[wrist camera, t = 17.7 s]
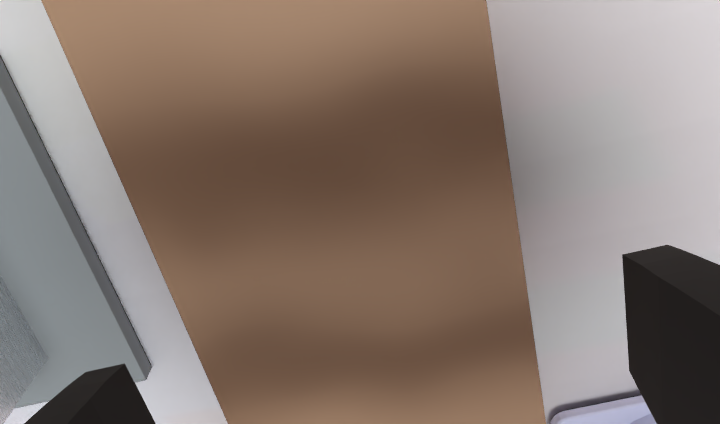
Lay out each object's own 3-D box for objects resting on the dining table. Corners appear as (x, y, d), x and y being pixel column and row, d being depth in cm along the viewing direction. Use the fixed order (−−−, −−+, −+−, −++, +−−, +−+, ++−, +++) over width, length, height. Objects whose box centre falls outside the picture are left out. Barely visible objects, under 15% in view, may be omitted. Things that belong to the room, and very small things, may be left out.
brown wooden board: (531, 411, 20) (550, 458, 18) (274, 463, 21) (268, 514, 19) (396, -476, 11) (407, -556, 9) (-56, -335, 12) (-128, -384, 10)
